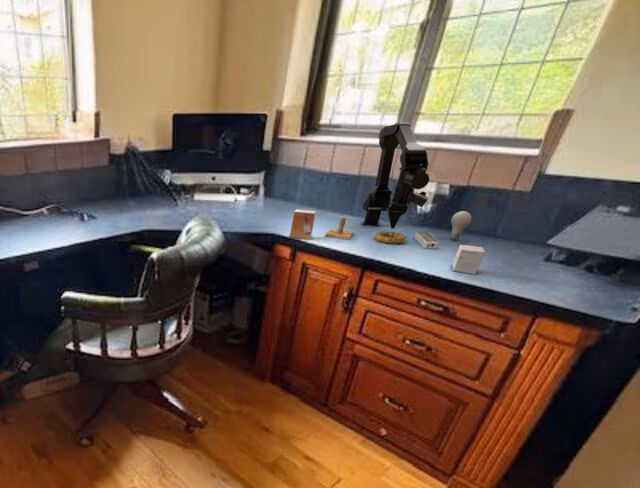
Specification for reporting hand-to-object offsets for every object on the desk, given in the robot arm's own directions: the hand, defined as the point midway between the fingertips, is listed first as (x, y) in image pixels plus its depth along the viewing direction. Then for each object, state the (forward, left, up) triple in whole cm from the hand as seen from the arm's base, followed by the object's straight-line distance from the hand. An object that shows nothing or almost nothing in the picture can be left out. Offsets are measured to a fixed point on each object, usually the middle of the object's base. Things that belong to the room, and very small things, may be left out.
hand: (393, 225), depth 167 cm
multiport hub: (+1, +12, -5) cm, 13 cm away
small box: (+16, -31, -5) cm, 35 cm away
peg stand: (+6, -18, -5) cm, 20 cm away
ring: (+4, 0, -4) cm, 6 cm away
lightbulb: (-9, +21, -5) cm, 23 cm away
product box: (+29, +24, -5) cm, 38 cm away
